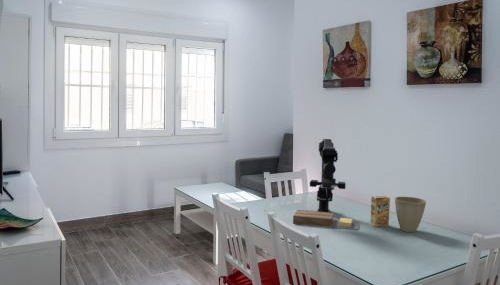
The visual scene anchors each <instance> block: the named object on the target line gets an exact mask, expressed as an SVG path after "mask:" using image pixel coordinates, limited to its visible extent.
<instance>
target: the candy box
mask: <svg viewBox="0 0 500 285" xmlns="http://www.w3.org/2000/svg"><path fill="white" fill-rule="evenodd" d="M370 200H371V201H370V202H371V204H370V222H369V224H370V226H372V227H389V225H390V223H389V222H390V209H391V208H390V206H391V197H390V196H387V195H377V196H371V199H370Z"/></svg>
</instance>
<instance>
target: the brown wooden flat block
mask: <svg viewBox="0 0 500 285" xmlns="http://www.w3.org/2000/svg"><path fill="white" fill-rule="evenodd" d="M292 216H293V217H292V224H297V225H308V226H315V227H316V226H319V227H328V228H332V227H333V223H334V218H335V216H334V212H330V211H329V212H321V211H318V210H316V211H314V210H305V209H296V211H295V212H294V214H293V215H292Z"/></svg>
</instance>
